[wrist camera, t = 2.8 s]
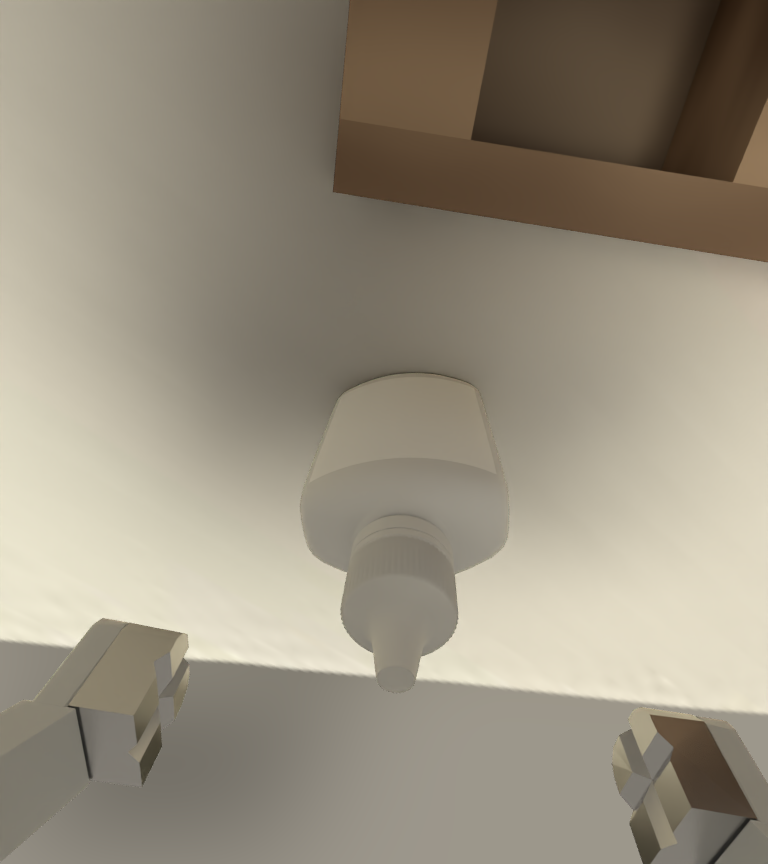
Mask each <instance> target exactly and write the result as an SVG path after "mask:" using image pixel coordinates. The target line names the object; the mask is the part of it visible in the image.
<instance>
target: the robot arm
mask: <svg viewBox="0 0 768 864" xmlns="http://www.w3.org/2000/svg"><path fill="white" fill-rule="evenodd" d="M188 647H189V646H188V635H187V634H185V633H180V632H175V631H170V630H165V629H159V628H154V627H149V626H144V625H139V624H134V623H128V622H122V621H117V620H111V619H105V618H102V619H101V620H99V621H98V622H96V623H95V624H94V625H92V626H91V628H90V629H89V630H88V632H87V633H86V634H85V635H84V637H83V638H82V639H81V640H80V642H79V643H78V644H77V645H76V647H75V648H74V649H73V650H72V652H71V653H70V654H69V656H68V657H67V658H66V659H65V661H64V662H63V663H62V664H61V666H60V667H59V668H58V669H57V671H56V672H55V673H54V675H53V676H52V677H51V678H50V680H49V681H48V682H47V683H46V685H45V686H44V687H43V689H42V690H41V691H40V692H39V693H38V695H37V696H36V697H35V699H34V700H33V701H29V700H22V701H20V702H19V703H17V704H15V705H14V706H12V707H10V708H8V709H7V710H5V711H3V712H1V713H0V862H1V861H2V860H3V859H5V858H6V857H7V856H8V855H9V854H10V853H11V852H12V851H13V850H15V849H16V848H17V847H18V846H19V845H21V844H22V843H23V842H24V841H25V840H26V839H27V838H29V837H30V836H31V835H32V834H33V833H34V832H36V831H37V830H38V829H39V828H40V827H41V826H42V825H43V824H45V823H46V822H47V821H48V820H49V819H50V818H52V817H53V816H54V815H55V814H56V813H57V812H58V811H60V810H61V809H62V808H63V807H64V806H65V805H67V804H68V803H69V802H70V801H71V800H72V799H73V798H75V797H76V796H77V795H78V794H79V793H80V792H81V791H83V790H84V789H85V788H86V787H87V786H88V785H89V784H90V781H89V780H91V781H98V782H105V783H113V784H120V785H128V786H135V787H143V785H144V783H145V780H146V778H147V776H148V774H149V772H150V770H151V768H152V766H153V764H154V762H155V760H156V758H157V756H158V754H159V752H160V750H161V747H162V737H161V730H162V729H164V728H165V727H167V726H168V725H169V724H170V723H172V722H173V721H174V720H175V719H176V716H177V714H178V712H179V710H180V708H181V706H182V703H183V700H184V697H185V694H186V690H187V687H188V680H189V664H188V662H187V661H186V660H185V659H184V658H183V657H184V655H185V653H186V651H187V649H188ZM628 721H629V724H630V726H631V729H630V730H628V731H626V732H624V733H622V734H621V735H619V736H618V738H617V741H616V743H615V745H614V747H613V758H612V766H613V772H614V778H615V781H616V785H617V788H618V791H619V794H620V795H621V796H622V798H623V799H624V800H625V801H626V802H627V803H628V804H629V806H630V807H631V808H632V809H633V813H632V816H631V820H630V827H631V830H632V833H633V836H634V839H635V842H636V845H637V848H638V851H639V854H640V856H641V860H642V862H643V864H768V783H767V782H766V780H765V778H764V777H763V775H762V773H761V772H760V770H759V768H758V767H757V765H756V763H755V762H754V760H753V758H752V757H751V755H750V753H749V752H748V750H747V748H746V747H745V745H744V743H743V742H742V740H741V738H740V737H739V735H738V733H737V732H736V730H735V729H734V728H733V727H732V726H731V725H730V724H729V723H728V722H727V721H723V720H718V719H711V718H705V717H699V716H693V715H690V714H683V713H677V712H671V711H663V710H657V709H650V708H643V707H639V708H637V709H635V710H633V711H632V713H631V715H630V717H629V718H628Z"/></svg>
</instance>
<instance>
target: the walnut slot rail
mask: <svg viewBox="0 0 768 864" xmlns="http://www.w3.org/2000/svg"><path fill="white" fill-rule="evenodd" d="M333 192H336V193H342V194H348V195H354V196H360V197H367V198H373V199H379V200H385V201H391V202H398V203H404V204H410V205H416V206H422V207H429V208H435V209H441V210H447V211H453V212H460V213H466V214H472V215H478V216H484V217H491V218H497V219H503V220H509V221H515V222H522V223H528V224H534V225H540V226H546V227H552V228H559V229H565V230H571V231H577V232H583V233H590V234H596V235H602V236H608V237H614V238H621V239H627V240H633V241H639V242H645V243H652V244H658V245H664V246H670V247H676V248H683V249H689V250H695V251H701V252H707V253H714V254H720V255H726V256H732V257H738V258H745V259H751V260H757V261H763V262H768V0H350V4H349V15H348V26H347V38H346V49H345V60H344V72H343V83H342V94H341V106H340V117H339V129H338V140H337V151H336V163H335V174H334V185H333Z"/></svg>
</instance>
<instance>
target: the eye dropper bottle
mask: <svg viewBox="0 0 768 864" xmlns="http://www.w3.org/2000/svg"><path fill="white" fill-rule="evenodd" d="M300 512H301V520H302V526H303V531H304V536H305V539H306V543H307V546H308V548H309V549H310V551H311V552H312V554H313V555H314V556H315V557H317V558H318V559H320V560H321V561H322V562H324V563H326V564H328V565H330V566H332V567H334V568H337V569H339V570H342V571H344V572H347V577H346V582H345V587H344V593H343V598H342V603H341V609H340V610H341V620H342V621H343V622H342V624H343V625H344V628H345V629H346V630H347V633H348V634H349V635H350V637H351V638H352V639H353V640H354V641H355V642H356V643H358V644H359V645H360V646H361V647H363V648H364V649H366V650H368V651H370V652H372V653H373V655H374V664H375V672H376V680H377V683H378V685H379V686H380V687H381V688H382V689H384V690H386V691H388V692H393V693H401V692H406V691H408V690H410V689H411V688H412V687H413V686H414V684H415V680H416V676H417V671H418V667H419V662H420V658H421V656H424V655H427V654H429V653H432V652H434V651H435V650H437V649H439V648H440V647H441V646H443V645H444V644H445V643H446V642H447V641H448V640H449V639H450V638H451V637H452V634H453V633H454V630H455V629H456V625H457V624H458V622H457V620H458V606H457V595H456V584H455V574H457V573H459V572H462V571H464V570H467V569H469V568H472V567H474V566H476V565H478V564H480V563H482V562H484V561H486V560H488V559H489V558H491V557H493V556H494V555H495V554H496V553H498V552H499V551H500V550H501V549H502V548H503V547H504V545H505V542H506V540H507V537H508V529H509V496H508V488H507V484H506V480H505V476H504V473H503V469H502V465H501V462H500V458H499V455H498V452H497V448H496V445H495V441H494V438H493V435H492V431H491V428H490V425H489V421H488V418H487V415H486V411H485V408H484V405H483V401H482V398H481V396H480V393H479V391H478V390H477V389H476V388H475V387H474V386H472V385H471V384H469V383H466V382H464V381H461V380H458V379H454V378H450V377H446V376H441V375H435V374H426V373H404V374H395V375H389V376H384V377H380V378H377V379H373V380H370V381H367V382H365V383H362V384H360V385H358V386H356V387H353V388H351V389H350V390H348V391H346V392H345V393H343V394H342V395H341V397H340V398H339V399H338V400H337V402H336V405H335V407H334V410H333V412H332V414H331V417H330V419H329V422H328V424H327V427H326V429H325V432H324V434H323V437H322V439H321V442H320V445H319V447H318V450H317V452H316V455H315V457H314V460H313V462H312V465H311V468H310V470H309V473H308V476H307V479H306V482H305V484H304V487H303V491H302V496H301V502H300Z"/></svg>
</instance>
